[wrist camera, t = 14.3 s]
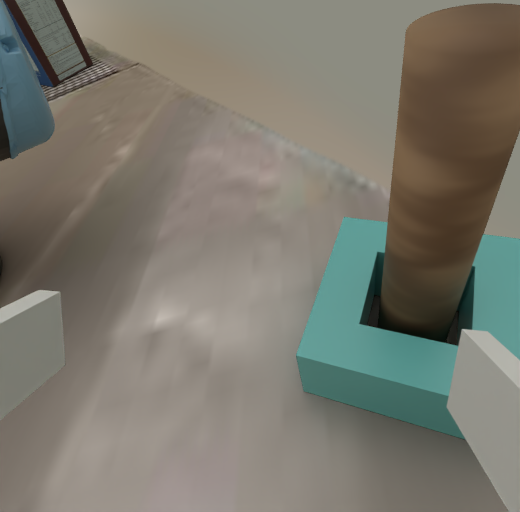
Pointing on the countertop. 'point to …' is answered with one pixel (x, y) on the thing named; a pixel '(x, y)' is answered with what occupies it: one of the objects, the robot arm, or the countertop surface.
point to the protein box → (49, 39)
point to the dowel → (447, 159)
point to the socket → (397, 344)
